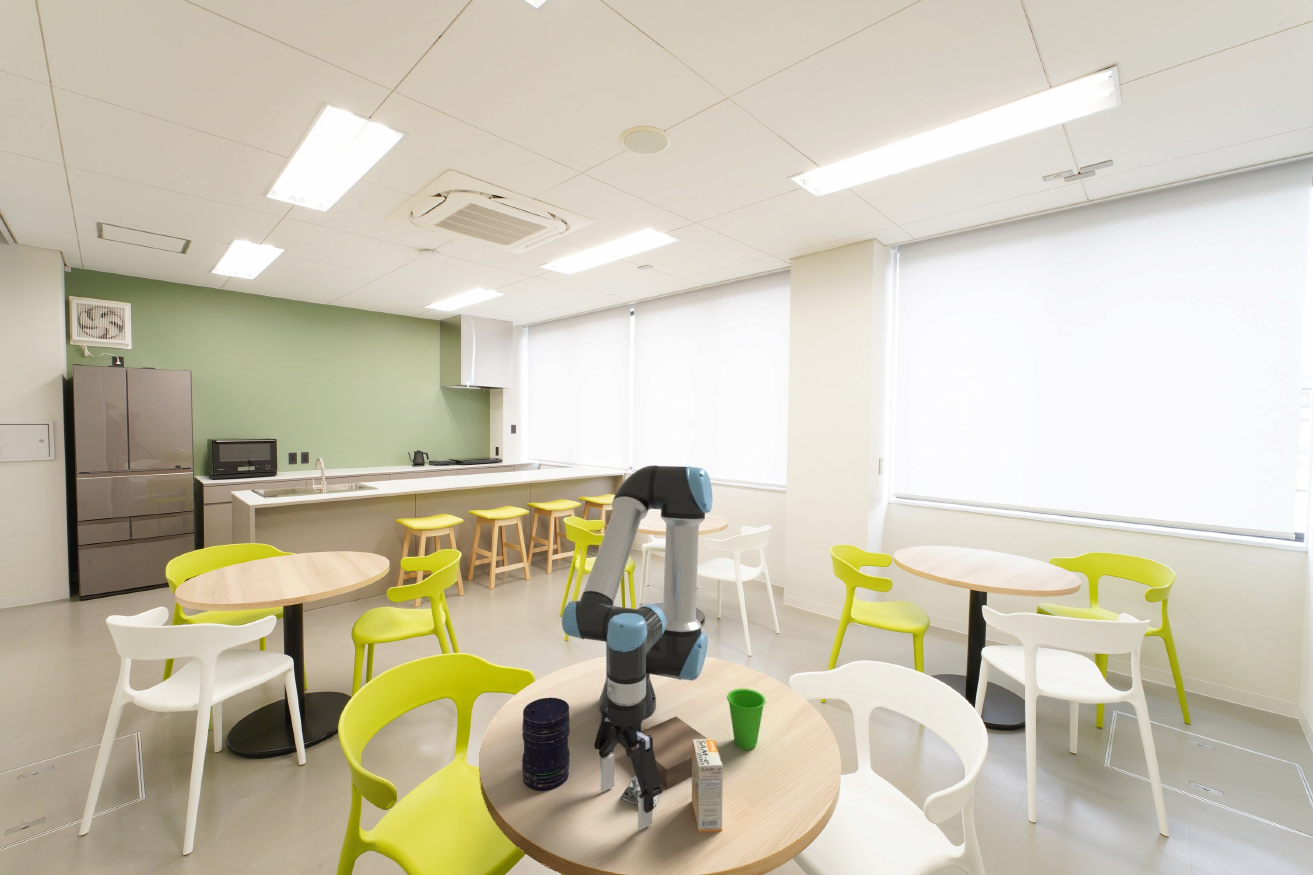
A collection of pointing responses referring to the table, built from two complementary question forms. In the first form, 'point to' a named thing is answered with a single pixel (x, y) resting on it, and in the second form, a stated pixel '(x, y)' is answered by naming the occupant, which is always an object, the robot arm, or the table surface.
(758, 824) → the table surface
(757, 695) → the cup
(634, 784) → the house of cards
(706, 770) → the supplement box
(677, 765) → the walnut block
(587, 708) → the table surface
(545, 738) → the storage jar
